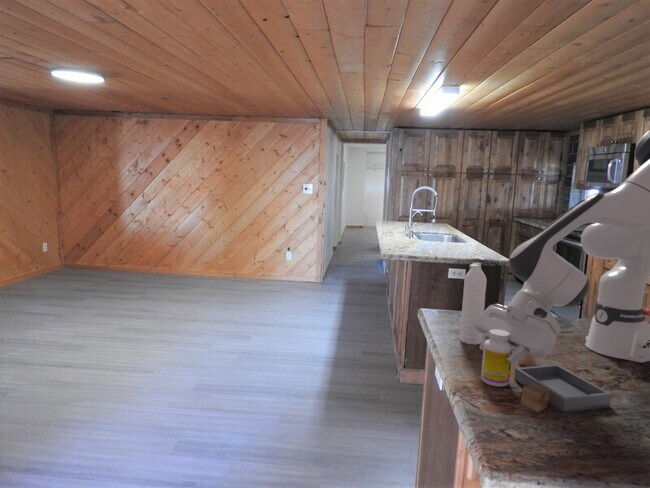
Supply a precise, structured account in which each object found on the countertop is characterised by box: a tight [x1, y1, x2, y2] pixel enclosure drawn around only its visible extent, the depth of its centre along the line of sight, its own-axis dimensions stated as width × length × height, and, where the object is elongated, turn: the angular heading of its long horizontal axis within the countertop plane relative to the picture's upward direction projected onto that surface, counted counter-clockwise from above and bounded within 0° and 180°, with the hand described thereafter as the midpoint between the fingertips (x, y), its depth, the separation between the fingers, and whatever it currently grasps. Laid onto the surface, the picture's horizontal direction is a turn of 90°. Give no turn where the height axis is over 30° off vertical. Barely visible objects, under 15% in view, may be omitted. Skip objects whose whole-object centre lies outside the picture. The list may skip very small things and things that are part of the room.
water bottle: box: [459, 262, 487, 345], centre depth 133 cm, size 9×6×25 cm
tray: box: [514, 363, 612, 413], centre depth 103 cm, size 13×16×3 cm
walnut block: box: [520, 383, 549, 413], centre depth 97 cm, size 4×4×4 cm
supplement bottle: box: [480, 329, 513, 388], centre depth 107 cm, size 7×7×13 cm
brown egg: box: [516, 352, 539, 367], centre depth 119 cm, size 5×5×6 cm
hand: (495, 355), depth 107 cm, fingers closed on supplement bottle, 7 cm apart
